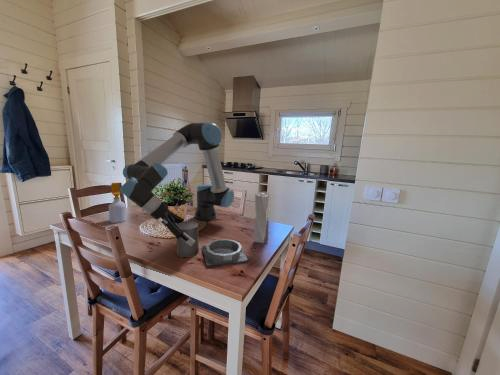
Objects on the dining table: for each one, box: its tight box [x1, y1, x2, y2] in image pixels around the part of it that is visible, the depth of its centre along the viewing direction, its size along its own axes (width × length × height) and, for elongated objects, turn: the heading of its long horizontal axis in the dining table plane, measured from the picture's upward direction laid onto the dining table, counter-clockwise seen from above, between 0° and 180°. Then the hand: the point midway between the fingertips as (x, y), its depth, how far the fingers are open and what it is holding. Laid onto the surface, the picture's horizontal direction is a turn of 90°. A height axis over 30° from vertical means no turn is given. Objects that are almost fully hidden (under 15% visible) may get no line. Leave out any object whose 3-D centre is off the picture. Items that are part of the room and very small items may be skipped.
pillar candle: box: [176, 220, 199, 258], centre depth 98 cm, size 10×10×15 cm
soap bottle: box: [108, 182, 127, 224], centre depth 131 cm, size 9×9×25 cm
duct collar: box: [201, 238, 249, 269], centre depth 98 cm, size 18×18×4 cm
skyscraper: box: [253, 191, 270, 245], centre depth 112 cm, size 8×8×28 cm
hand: (192, 237), depth 98 cm, fingers open, 13 cm apart
